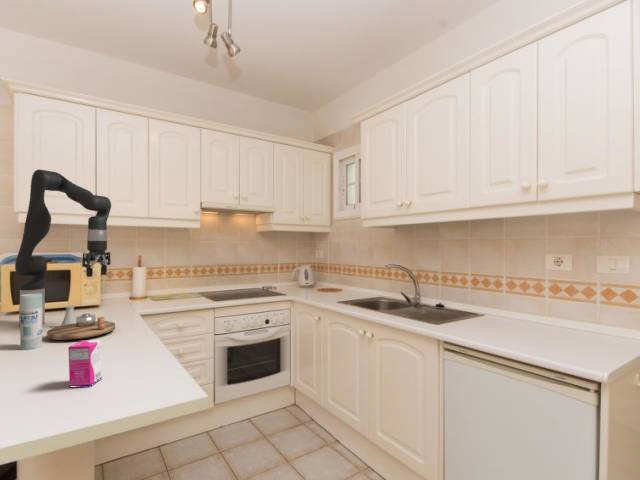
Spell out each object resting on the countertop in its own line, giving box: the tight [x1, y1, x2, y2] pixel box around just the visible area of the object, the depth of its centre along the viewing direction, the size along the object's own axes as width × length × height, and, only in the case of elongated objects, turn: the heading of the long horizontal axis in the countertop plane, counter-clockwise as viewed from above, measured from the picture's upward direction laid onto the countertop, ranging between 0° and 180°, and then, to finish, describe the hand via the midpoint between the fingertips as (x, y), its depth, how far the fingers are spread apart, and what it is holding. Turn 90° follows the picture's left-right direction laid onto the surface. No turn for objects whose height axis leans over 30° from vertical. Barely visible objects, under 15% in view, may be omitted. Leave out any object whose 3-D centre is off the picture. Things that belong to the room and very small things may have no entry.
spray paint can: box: [19, 293, 43, 351], centre depth 130 cm, size 6×6×20 cm
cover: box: [76, 313, 96, 327], centre depth 152 cm, size 7×7×5 cm
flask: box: [60, 305, 77, 326], centre depth 160 cm, size 7×7×10 cm
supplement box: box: [68, 339, 103, 387], centre depth 96 cm, size 6×6×12 cm
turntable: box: [46, 316, 116, 341], centre depth 147 cm, size 24×24×7 cm
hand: (96, 275), depth 154 cm, fingers open, 8 cm apart
